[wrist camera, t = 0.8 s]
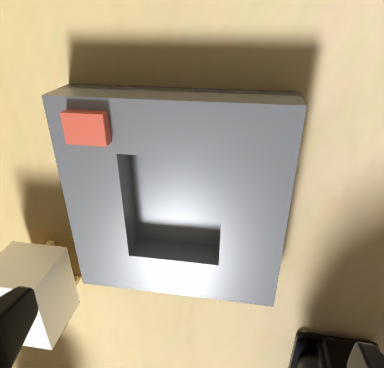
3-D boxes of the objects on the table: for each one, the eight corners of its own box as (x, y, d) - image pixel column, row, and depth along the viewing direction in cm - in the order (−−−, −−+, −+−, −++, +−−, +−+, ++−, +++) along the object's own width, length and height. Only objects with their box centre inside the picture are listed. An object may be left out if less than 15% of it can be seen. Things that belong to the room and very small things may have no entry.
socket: (271, 275, 25) (273, 315, 22) (99, 256, 27) (78, 290, 24) (299, 91, 18) (309, 109, 15) (68, 84, 20) (34, 98, 17)
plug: (87, 289, 29) (52, 350, 24) (40, 283, 30) (-5, 341, 25) (75, 235, 26) (32, 291, 21) (23, 230, 27) (-31, 283, 22)
